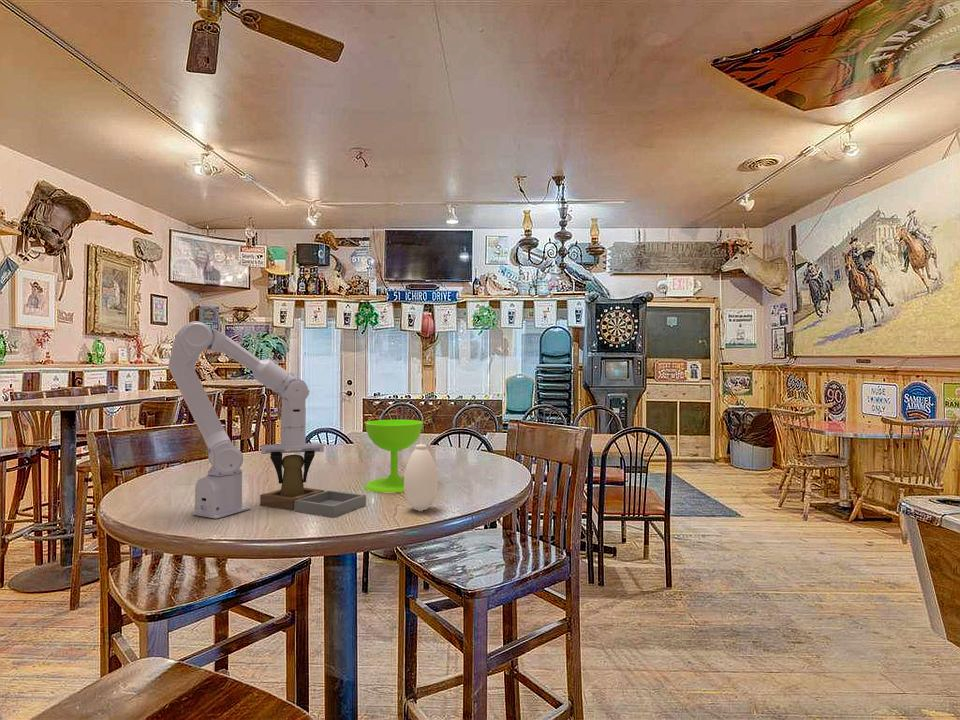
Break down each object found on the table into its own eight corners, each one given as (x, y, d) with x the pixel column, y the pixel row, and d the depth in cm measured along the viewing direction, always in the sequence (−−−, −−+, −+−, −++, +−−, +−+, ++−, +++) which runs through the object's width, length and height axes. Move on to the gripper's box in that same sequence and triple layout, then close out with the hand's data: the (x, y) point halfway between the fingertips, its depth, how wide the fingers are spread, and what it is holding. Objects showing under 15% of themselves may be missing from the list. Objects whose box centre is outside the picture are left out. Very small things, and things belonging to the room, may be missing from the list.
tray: (333, 517, 119) (333, 506, 119) (294, 511, 124) (294, 500, 124) (365, 505, 130) (366, 495, 130) (328, 500, 135) (328, 490, 135)
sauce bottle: (444, 508, 127) (444, 432, 127) (424, 516, 120) (424, 436, 120) (417, 504, 131) (418, 430, 131) (397, 511, 124) (397, 434, 124)
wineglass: (358, 492, 143) (358, 425, 143) (372, 480, 159) (372, 419, 159) (417, 493, 142) (418, 425, 142) (426, 480, 158) (426, 419, 158)
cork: (300, 503, 129) (301, 457, 129) (275, 502, 129) (276, 456, 129) (308, 497, 135) (309, 453, 135) (284, 496, 135) (285, 452, 135)
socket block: (292, 510, 125) (293, 499, 125) (260, 505, 129) (260, 494, 129) (324, 500, 134) (324, 490, 134) (292, 495, 139) (292, 486, 139)
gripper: (323, 424, 138) (323, 477, 138) (263, 425, 134) (262, 480, 134) (324, 427, 131) (323, 483, 131) (260, 429, 127) (259, 486, 127)
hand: (292, 482), depth 132 cm, fingers closed on cork, 5 cm apart
